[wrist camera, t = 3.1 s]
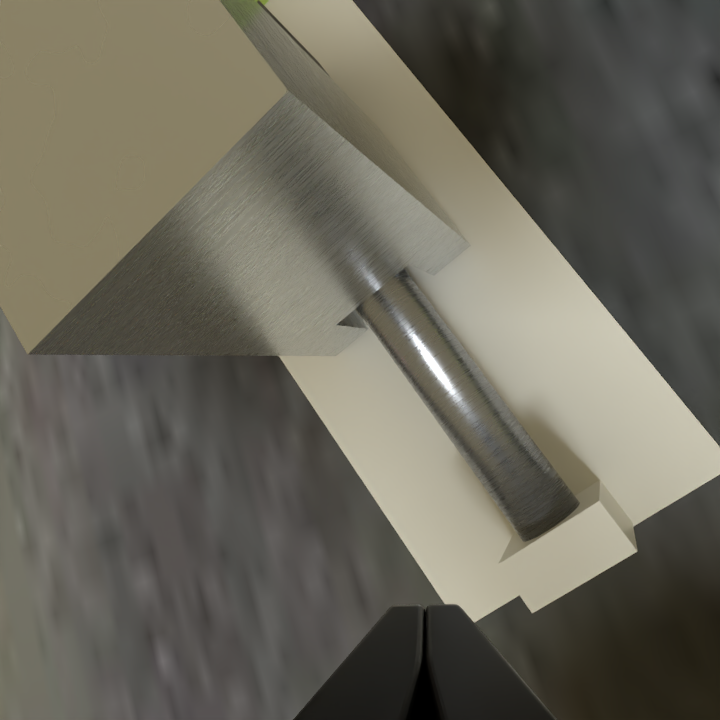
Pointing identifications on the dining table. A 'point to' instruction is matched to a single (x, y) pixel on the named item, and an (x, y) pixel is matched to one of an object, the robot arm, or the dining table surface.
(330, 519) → the dining table surface
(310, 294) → the beige tall block
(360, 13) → the base board
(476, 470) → the steel pipe
